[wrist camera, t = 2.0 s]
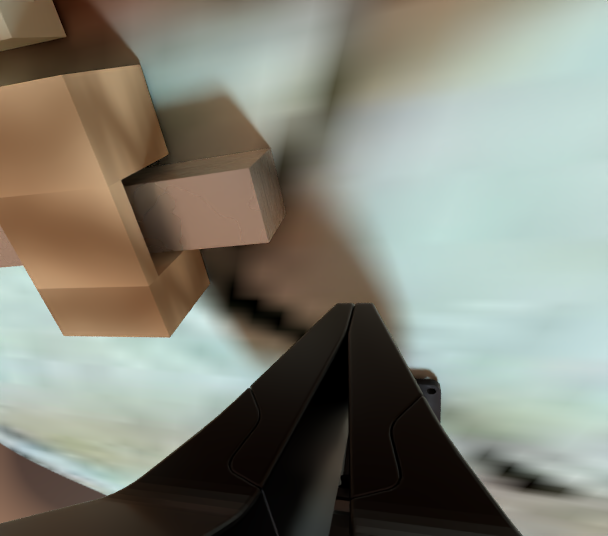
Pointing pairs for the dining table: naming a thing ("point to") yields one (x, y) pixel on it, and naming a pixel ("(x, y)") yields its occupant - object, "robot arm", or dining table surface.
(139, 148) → the tan u-shaped block
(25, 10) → the cradle
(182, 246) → the pinkish brown square bar
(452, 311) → the dining table surface
